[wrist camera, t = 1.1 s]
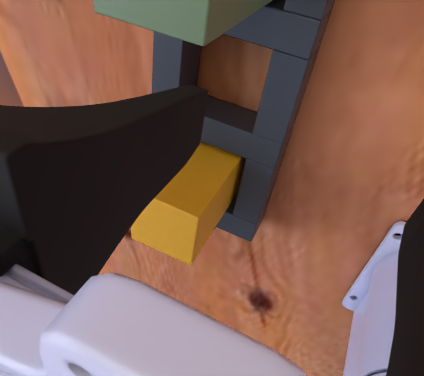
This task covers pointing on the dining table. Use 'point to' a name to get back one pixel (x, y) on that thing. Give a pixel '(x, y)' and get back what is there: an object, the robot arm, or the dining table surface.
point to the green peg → (182, 16)
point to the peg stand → (269, 105)
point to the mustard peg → (191, 204)
